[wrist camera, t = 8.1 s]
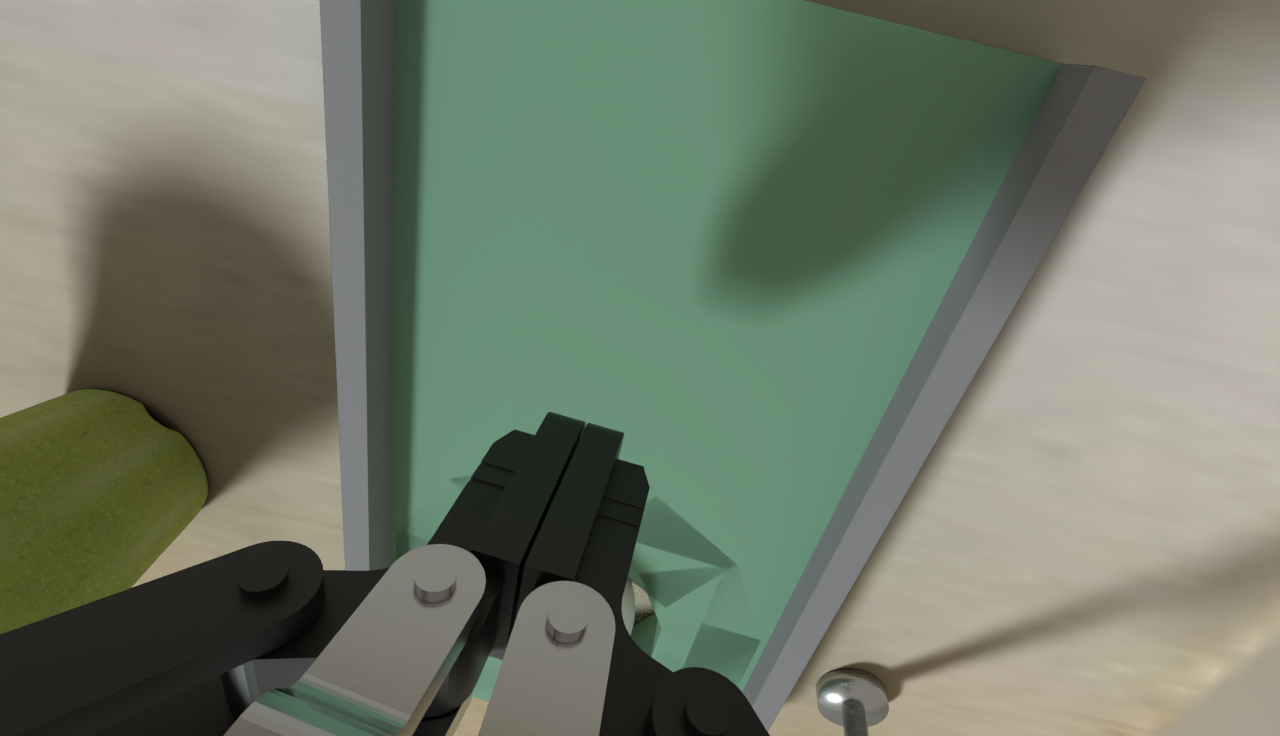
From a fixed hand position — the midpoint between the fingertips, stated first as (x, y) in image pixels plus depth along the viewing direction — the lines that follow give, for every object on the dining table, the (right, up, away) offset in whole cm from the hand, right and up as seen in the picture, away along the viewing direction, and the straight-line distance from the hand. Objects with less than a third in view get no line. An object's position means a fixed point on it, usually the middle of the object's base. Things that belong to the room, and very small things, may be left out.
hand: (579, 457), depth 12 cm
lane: (0, 0, +7) cm, 7 cm away
